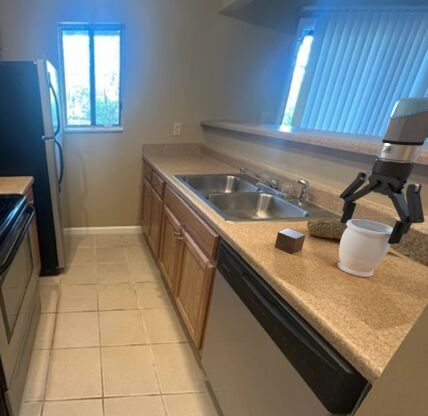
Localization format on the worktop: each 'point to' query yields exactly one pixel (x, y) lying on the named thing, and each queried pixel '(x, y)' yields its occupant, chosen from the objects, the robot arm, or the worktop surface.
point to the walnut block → (290, 241)
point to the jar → (363, 246)
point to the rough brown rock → (326, 228)
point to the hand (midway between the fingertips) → (367, 232)
